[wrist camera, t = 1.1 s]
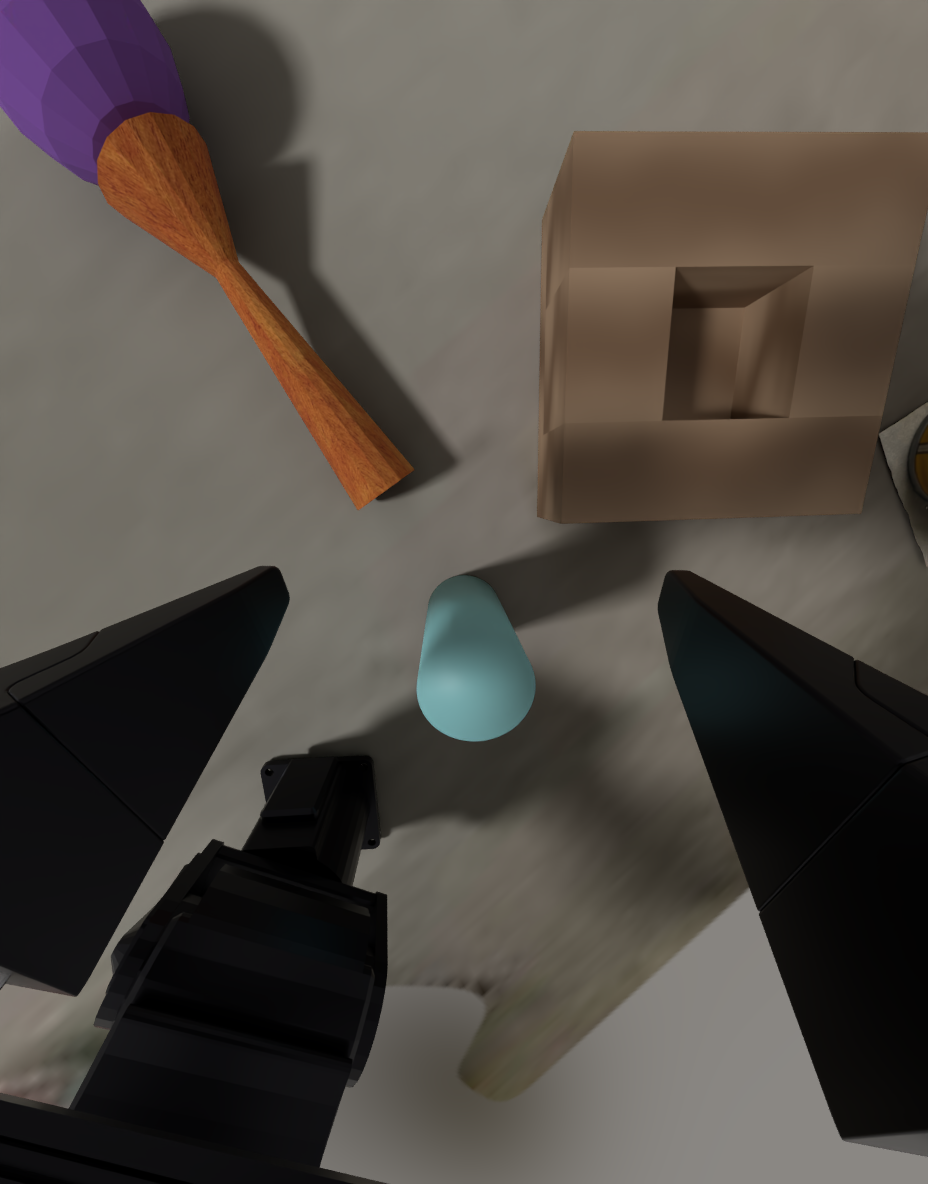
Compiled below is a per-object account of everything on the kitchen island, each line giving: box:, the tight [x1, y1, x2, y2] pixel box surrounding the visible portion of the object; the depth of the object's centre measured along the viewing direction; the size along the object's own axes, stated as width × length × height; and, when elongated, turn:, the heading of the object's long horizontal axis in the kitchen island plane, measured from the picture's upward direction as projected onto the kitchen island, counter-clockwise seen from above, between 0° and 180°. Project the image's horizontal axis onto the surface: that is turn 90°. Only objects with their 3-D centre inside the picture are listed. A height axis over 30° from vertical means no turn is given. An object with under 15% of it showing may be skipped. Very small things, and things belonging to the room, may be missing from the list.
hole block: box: [537, 131, 928, 524], centre depth 17 cm, size 13×13×4 cm
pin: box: [417, 575, 536, 741], centre depth 18 cm, size 4×4×9 cm
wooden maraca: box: [0, 0, 415, 510], centre depth 16 cm, size 6×6×20 cm
